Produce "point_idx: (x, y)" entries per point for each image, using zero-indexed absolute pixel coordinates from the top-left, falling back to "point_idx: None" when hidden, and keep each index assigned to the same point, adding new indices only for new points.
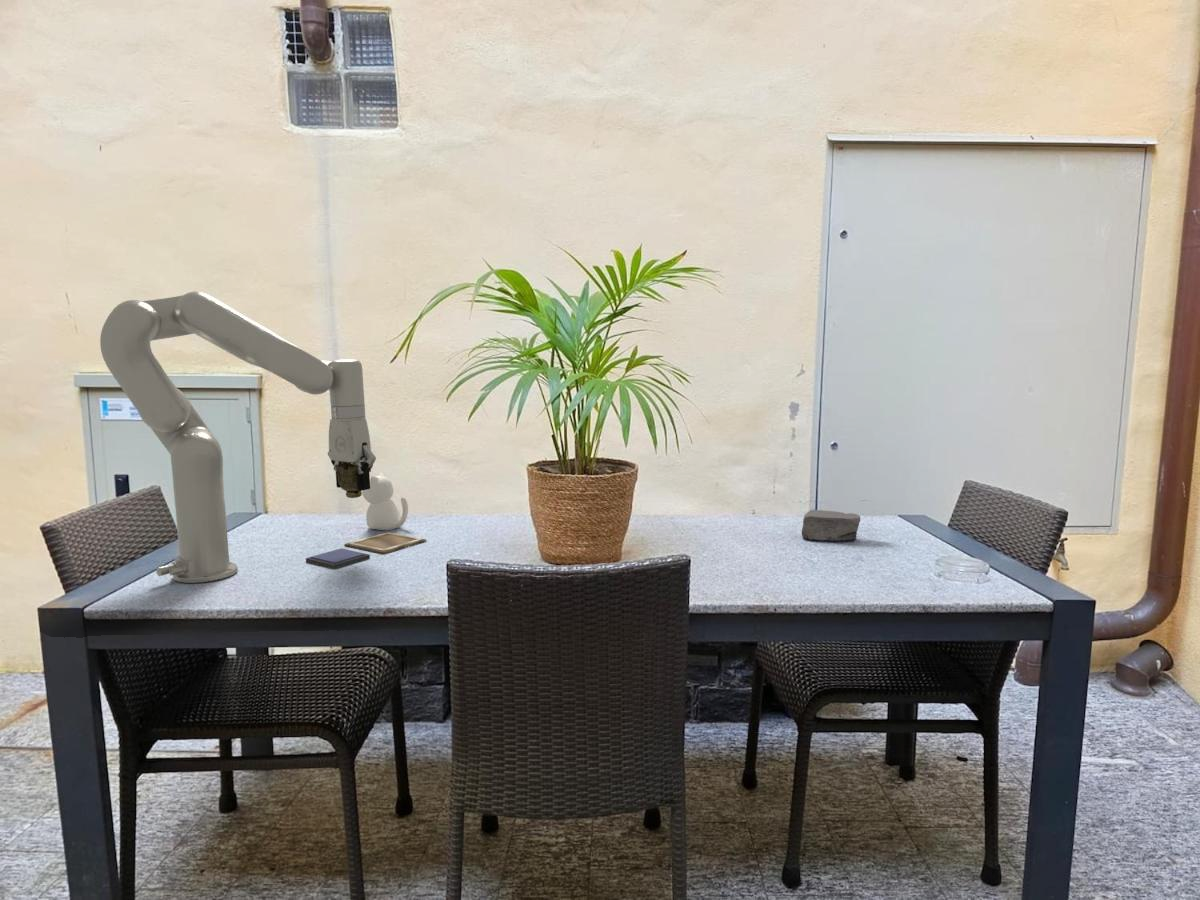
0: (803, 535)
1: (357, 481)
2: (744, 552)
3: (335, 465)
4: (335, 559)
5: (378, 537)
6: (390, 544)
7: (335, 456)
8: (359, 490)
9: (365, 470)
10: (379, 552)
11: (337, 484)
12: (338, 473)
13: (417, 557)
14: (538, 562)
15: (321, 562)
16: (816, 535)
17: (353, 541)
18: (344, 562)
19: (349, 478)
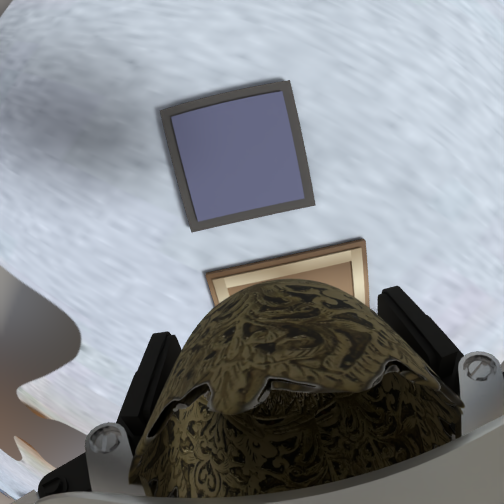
0: None
1: (149, 371)
2: (19, 473)
3: (431, 386)
4: (198, 130)
5: None
6: None
7: (482, 494)
8: (155, 334)
9: (82, 458)
10: (219, 270)
11: (395, 295)
12: (306, 327)
13: (128, 314)
14: (24, 398)
15: (216, 95)
16: None
17: (362, 266)
18: (168, 144)
19: (184, 353)
